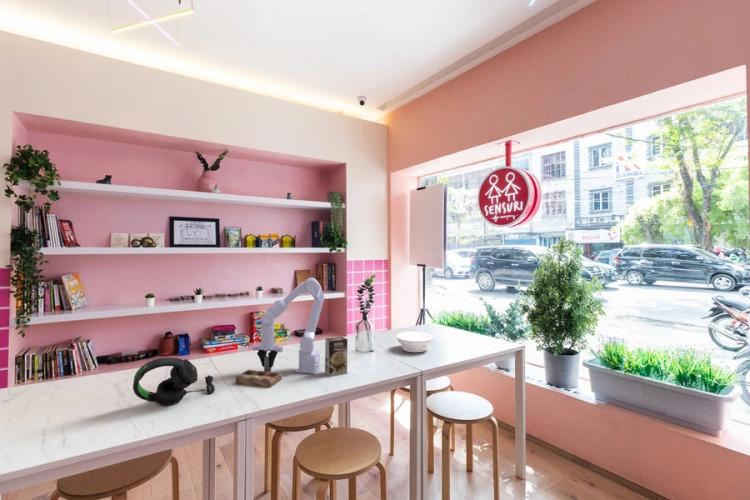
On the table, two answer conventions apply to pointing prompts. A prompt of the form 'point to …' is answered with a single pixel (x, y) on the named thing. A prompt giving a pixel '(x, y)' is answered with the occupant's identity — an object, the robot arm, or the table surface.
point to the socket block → (258, 378)
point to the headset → (170, 381)
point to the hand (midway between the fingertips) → (267, 366)
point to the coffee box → (335, 356)
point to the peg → (266, 364)
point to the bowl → (414, 341)
